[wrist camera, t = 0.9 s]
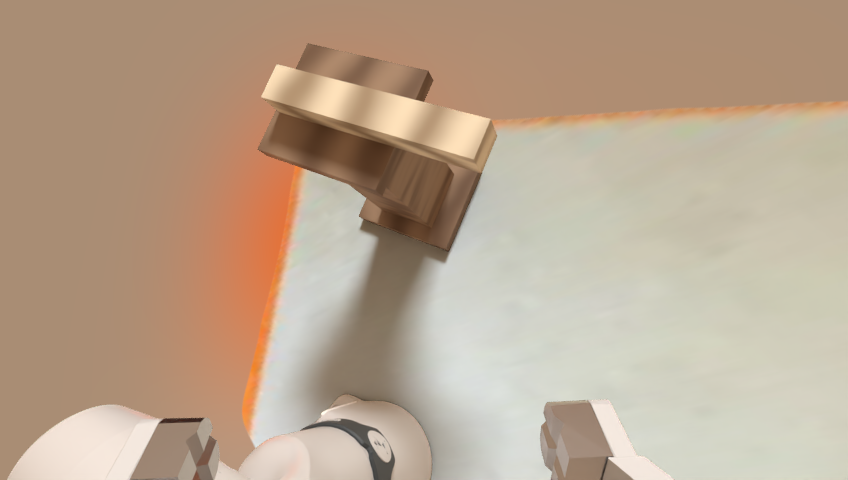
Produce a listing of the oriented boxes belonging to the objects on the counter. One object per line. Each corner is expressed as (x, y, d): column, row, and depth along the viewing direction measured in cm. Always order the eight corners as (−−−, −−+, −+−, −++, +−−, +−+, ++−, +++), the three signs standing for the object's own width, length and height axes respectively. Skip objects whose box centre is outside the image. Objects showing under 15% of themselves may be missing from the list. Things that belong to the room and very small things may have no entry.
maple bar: (497, 135, 41) (490, 119, 38) (481, 173, 41) (473, 159, 38) (294, 81, 49) (276, 64, 47) (279, 112, 49) (261, 96, 46)
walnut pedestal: (482, 171, 68) (428, 70, 45) (448, 251, 67) (375, 190, 44) (395, 145, 73) (307, 43, 50) (363, 219, 72) (257, 149, 49)
